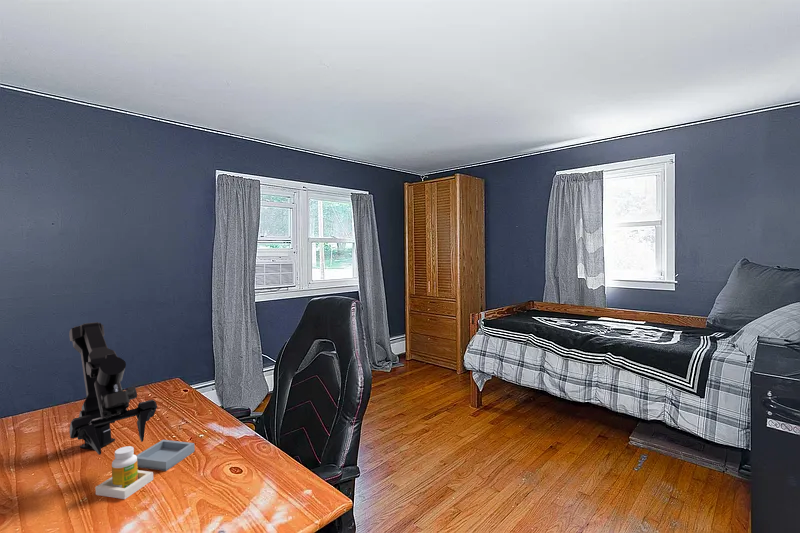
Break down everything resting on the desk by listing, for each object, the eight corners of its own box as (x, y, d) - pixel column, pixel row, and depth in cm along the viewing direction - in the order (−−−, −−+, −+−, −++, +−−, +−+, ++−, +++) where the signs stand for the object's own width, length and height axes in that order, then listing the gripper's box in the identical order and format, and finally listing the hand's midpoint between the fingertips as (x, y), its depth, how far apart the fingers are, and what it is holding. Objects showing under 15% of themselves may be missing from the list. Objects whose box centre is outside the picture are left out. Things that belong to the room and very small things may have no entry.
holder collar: (95, 494, 100) (95, 486, 100) (126, 475, 109) (125, 468, 109) (124, 499, 99) (124, 491, 98) (153, 479, 107) (153, 472, 107)
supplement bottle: (125, 494, 100) (123, 456, 100) (107, 491, 102) (105, 454, 101) (143, 482, 106) (141, 445, 105) (125, 479, 107) (124, 443, 106)
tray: (132, 466, 113) (132, 457, 113) (163, 447, 124) (163, 439, 124) (166, 471, 111) (166, 462, 111) (194, 451, 122) (194, 443, 122)
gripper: (69, 387, 101) (79, 445, 94) (154, 370, 115) (168, 420, 107) (65, 410, 107) (74, 466, 100) (146, 392, 120) (159, 440, 113)
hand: (121, 447), depth 105 cm, fingers open, 9 cm apart
